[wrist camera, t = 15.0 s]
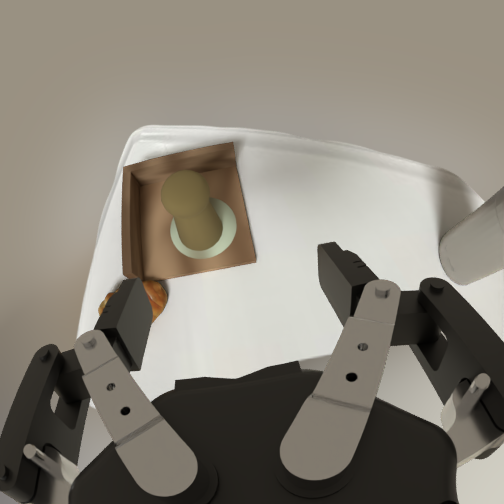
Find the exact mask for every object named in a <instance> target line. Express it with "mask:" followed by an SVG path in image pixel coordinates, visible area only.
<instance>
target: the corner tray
mask: <svg viewBox="0 0 504 504" xmlns="http://www.w3.org/2000/svg"><path fill="white" fill-rule="evenodd" d="M181 170H192V171H195V172H198V173H199V174H201V175H202V176H203V177H204V178H205V179H206V181H207V183H208V185H209V189H210V197H209V201H210V203H211V204H212V206H213V208H214V209H215V211H216V213H217V215H218V216H219V218H220V220H221V221H222V226H223V231H222V236H221V237H220V239H219V241H218V242H217V243H216V244H215V245H214V246H213V247H211V248H209V249H207V250H203V251H194V250H191V249H189V248H187V247H186V246H185V245H183V244H182V242H181V240H180V238H179V235H178V232H177V228H176V225H175V221H174V217H173V215H171V214H170V213H169V212H168V211H167V210H166V209H165V208H164V206H163V204H162V202H161V189H162V186H163V184H164V182H165V181H166V179H167V178H168V177H169V176H170V175H172V174H173V173H175V172H177V171H181ZM251 263H256V257H255V253H254V248H253V243H252V239H251V234H250V229H249V224H248V220H247V215H246V210H245V206H244V201H243V196H242V192H241V187H240V182H239V178H238V173H237V168H236V161H235V151H234V145H233V142H230V143H224V144H219V145H213V146H208V147H203V148H198V149H193V150H189V151H184V152H180V153H175V154H171V155H167V156H163V157H158V158H154V159H151V160H147V161H143V162H139V163H135V164H132V165H128V166H125V167H123V182H122V266H123V275H124V276H126V277H127V278H129V279H132V278H137V277H139V278H140V279H141V281H148V280H153V281H160V280H165V279H171V278H176V277H182V276H187V275H192V274H198V273H203V272H208V271H214V270H219V269H224V268H230V267H235V266H240V265H245V264H251Z"/></svg>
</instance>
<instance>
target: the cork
mask: <svg viewBox="0 0 504 504" xmlns="http://www.w3.org/2000/svg"><path fill="white" fill-rule="evenodd" d="M209 197H210V189H209V185H208V183H207V181H206V179H205V178H204V177H203V176H202V175H201V174H199V173H198V172H195V171H192V170H181V171H177V172H175V173H173V174H172V175H170V176H169V177H168V178H167V179H166V181H165V182H164V184H163V186H162V189H161V202H162V204H163V206H164V208H165V209H166V210H167V211H168V212H169V213H170V214H171V215H173V217H174V221H175V225H176V228H177V232H178V235H179V238H180V240H181V242H182V244H183V245H185V246H186V247H187V248H189V249H191V250H194V251H203V250H207V249H209V248H211V247H213V246H214V245H215V244H216V243H217V242H218V241H219V239H220V237H221V236H222V231H223V226H222V221H221V220H220V218H219V216H218V215H217V213H216V211H215V209H214V208H213V206H212V204H211V203H210V201H209Z"/></svg>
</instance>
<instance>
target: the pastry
mask: <svg viewBox="0 0 504 504" xmlns="http://www.w3.org/2000/svg"><path fill="white" fill-rule="evenodd" d="M142 283H143V285H144V288H145V291H146V293H147V296H148V298H149V301H150V303H151V306H152V310H153V320H152V323H153V322H154V321H155V319H156V318H157V317H158V316H159V315H160V314H161V313H162V311H163V310H164V308H165V306H166V303H167V294H166V291H165V290H164V289H163V287H162V286H161V284H160V283H159V282H156V281H153V280H148V281H142ZM118 290H119V289H117V290H116V291H115V292H118ZM115 292H114V293H115ZM114 293H109V294H107V296H106V297H105V300H104V301H102V303H101V305H100V307H99V309H98V312H99V316H100V315H101V313H102V311H103V309H104V308H105V305H106V303H107V301H108V299H109V298H110V297H111V296H112V295H113V294H114Z"/></svg>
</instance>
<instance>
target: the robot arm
mask: <svg viewBox="0 0 504 504" xmlns="http://www.w3.org/2000/svg"><path fill="white" fill-rule="evenodd" d="M317 251H318V275H319V282H320V285H321V288H322V290H323V292H324V293H325V295H326V297H327V299H328V300H329V302H330V304H331V306H332V307H333V309H334V311H335V313H336V314H337V316H338V318H339V320H340V322H341V323H342V325H343V327H344V329H343V331H342V333H341V336H340V338H339V340H338V342H337V345H336V347H335V349H334V351H333V353H332V355H331V358H330V360H329V362H328V364H327V366H326V368H325V370H324V372H323V371H318V370H311V369H301V368H300V365H299V362H298V361H294V362H289V363H284V364H280V365H275V366H270V367H266V368H264V369H261V370H259V371H256V372H253V373H251V374H248V375H246V376H243V377H240V378H237V379H227V378H211V377H200V378H192V379H182V380H175V389H174V390H171V391H168V392H166V393H164V394H162V395H160V396H159V397H157V398H155V399H154V400H153V401H152V402H150V401H149V399H148V398H147V397H146V395H145V394H144V393H143V391H142V390H141V389H140V387H139V386H138V385H137V383H136V382H135V380H134V379H133V378H132V376H131V375H130V371H140V370H141V365H142V361H143V356H144V352H145V348H146V344H147V339H148V335H149V331H150V327H151V324H152V320H153V310H152V306H151V303H150V301H149V298H148V296H147V293H146V291H145V288H144V285H143V283H142V281H141V279H140V278H139V277H137V278H132V279H126V280H123V282H122V284H121V286H120V288H119V290H118V292H115V293H114V294H113V295H112V296H111V297H110V298H109V299H108V301H107V303H106V305H105V308H104V309H103V311H102V313H101V315H100V317H99V319H98V321H97V323H96V325H95V328H94V330H91V331H88V332H86V333H84V334H82V335H81V336H80V337H79V338H78V339H77V340H76V342H75V345H74V349H72V350H69V351H65V352H62V353H61V352H60V351H59V349H58V347H57V346H56V345H54V344H49V345H46V346H44V347H42V348H41V349H39V350H38V351H37V352H36V353H35V355H34V357H33V359H32V361H31V363H30V365H29V367H28V369H27V371H26V373H25V376H24V378H23V380H22V382H21V385H20V387H19V389H18V392H17V394H16V397H15V399H14V401H13V404H12V406H11V409H10V412H9V415H8V417H7V420H6V422H5V425H4V428H3V431H2V434H1V438H0V491H2V492H3V493H4V494H6V495H8V496H10V497H11V498H13V499H14V500H15V501H16V502H18V503H19V504H459V502H458V498H457V492H456V470H457V468H458V467H460V466H462V465H464V464H465V463H467V462H469V461H470V460H472V459H474V458H475V459H484V458H487V457H489V456H490V455H491V454H492V453H493V452H494V451H495V450H497V449H498V448H499V447H500V446H501V445H502V444H503V443H504V342H503V341H502V340H501V339H500V337H499V336H498V335H497V334H496V333H495V332H494V330H493V329H492V328H491V327H490V326H489V325H488V324H487V322H486V321H485V320H484V319H483V318H482V317H481V316H480V315H479V314H478V313H477V311H476V310H475V309H474V308H473V307H472V306H471V305H470V304H469V303H468V302H467V301H466V300H465V299H464V298H463V297H462V296H461V295H460V294H459V293H458V292H457V291H456V290H455V288H454V287H453V286H452V285H450V284H449V283H448V282H447V281H445V280H443V279H440V278H426V279H424V280H423V281H422V282H421V283H420V287H419V290H416V291H401V290H400V288H399V286H398V285H397V284H395V283H394V282H391V281H388V280H380V279H379V278H378V277H377V276H376V275H375V274H374V273H373V272H372V271H371V270H370V268H369V267H368V266H366V264H365V263H364V262H363V261H362V260H361V259H360V258H359V257H358V255H357V254H355V253H353V252H351V251H348V250H345V251H343V250H342V249H341V248H340V247H339V246H338V245H337V243H336V242H330V243H324V244H319V245H318V249H317ZM439 254H440V260H441V264H442V266H443V269H444V270H445V272H446V274H447V275H448V276H449V278H450V279H451V280H452V281H454V282H455V283H457V284H459V285H468V284H470V283H473V282H475V281H477V280H480V279H482V278H484V277H487V276H489V275H491V274H493V273H495V272H497V271H500V270H502V269H504V187H502V188H501V189H500V190H499V191H498V192H497V193H496V194H495V195H493V196H492V197H491V198H490V199H489V200H488V201H486V202H485V203H484V204H483V205H481V206H480V207H479V208H478V209H477V210H475V211H474V212H473V213H472V214H470V215H469V216H468V217H467V218H465V219H464V220H463V221H461V222H460V223H459V224H457V225H456V226H455V227H453V228H452V229H451V230H450V231H448V232H447V233H446V234H445V235H444V236H443V237H442V239H441V242H440V247H439ZM441 331H442V332H443V333H444V334H445V336H446V338H447V340H446V339H445V337H444V336H443V335H442V334H441ZM397 345H409V346H410V348H411V349H412V351H413V353H414V354H415V356H416V357H417V359H418V361H419V362H420V364H421V366H422V367H423V369H424V371H425V373H426V374H427V376H428V378H429V380H430V381H431V383H432V385H433V387H434V388H435V390H436V392H437V394H438V396H439V397H440V399H441V401H442V403H443V405H444V407H443V409H442V412H441V422H442V425H443V429H442V428H440V427H439V426H437V425H435V424H433V423H431V422H429V421H426V420H424V419H422V418H420V417H417V416H415V415H413V414H411V413H409V412H407V411H404V410H402V409H400V408H398V407H396V406H394V405H392V404H390V403H388V402H385V401H383V400H381V399H379V398H377V397H376V395H377V392H378V388H379V385H380V382H381V378H382V375H383V371H384V368H385V364H386V360H387V356H388V352H389V348H390V346H397ZM53 391H55V392H56V393H57V394H58V396H59V400H58V404H57V407H56V410H55V413H53V411H52V409H51V406H50V400H51V397H52V394H53ZM90 398H92V401H93V403H94V405H95V407H96V409H97V411H98V413H99V415H100V417H101V419H102V421H103V423H104V424H105V426H106V428H107V430H108V432H109V434H110V435H111V437H112V439H113V441H112V442H111V443H110V444H109V445H108V446H107V447H106V448H105V449H104V450H103V451H102V452H101V453H100V454H99V455H98V456H97V457H96V458H95V459H94V460H93V461H92V462H91V463H90V464H89V465H88V466H87V467H86V468H85V469H84V470H83V471H82V472H81V473H80V472H79V469H78V468H77V463H78V457H79V451H80V446H81V440H82V434H83V430H84V425H85V420H86V416H87V411H88V407H89V403H90Z"/></svg>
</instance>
